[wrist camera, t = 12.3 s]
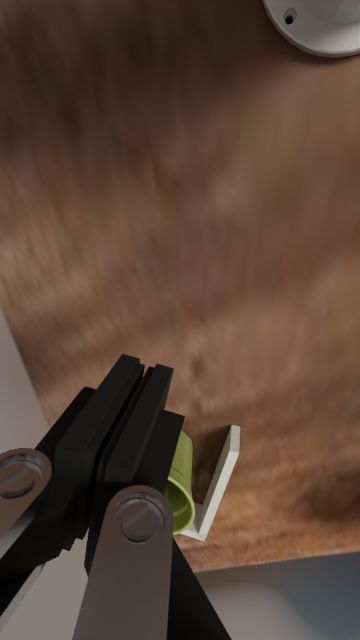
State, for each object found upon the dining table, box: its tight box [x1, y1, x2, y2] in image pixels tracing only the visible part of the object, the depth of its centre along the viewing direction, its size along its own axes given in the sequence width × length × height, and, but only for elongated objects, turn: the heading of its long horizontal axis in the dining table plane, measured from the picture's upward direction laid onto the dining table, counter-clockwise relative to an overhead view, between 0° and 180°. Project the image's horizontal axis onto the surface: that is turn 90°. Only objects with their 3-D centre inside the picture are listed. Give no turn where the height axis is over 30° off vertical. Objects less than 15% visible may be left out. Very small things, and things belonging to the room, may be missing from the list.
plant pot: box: [164, 429, 195, 535], centre depth 37 cm, size 9×9×9 cm
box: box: [181, 425, 240, 541], centre depth 40 cm, size 16×16×4 cm
